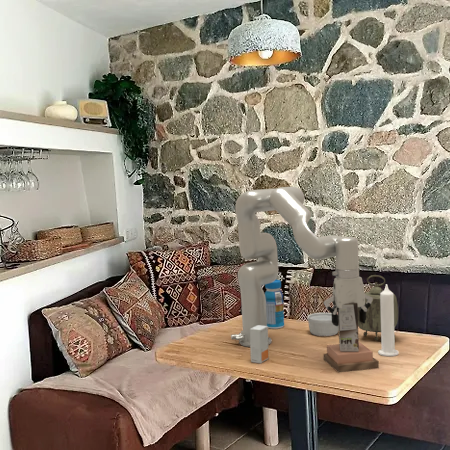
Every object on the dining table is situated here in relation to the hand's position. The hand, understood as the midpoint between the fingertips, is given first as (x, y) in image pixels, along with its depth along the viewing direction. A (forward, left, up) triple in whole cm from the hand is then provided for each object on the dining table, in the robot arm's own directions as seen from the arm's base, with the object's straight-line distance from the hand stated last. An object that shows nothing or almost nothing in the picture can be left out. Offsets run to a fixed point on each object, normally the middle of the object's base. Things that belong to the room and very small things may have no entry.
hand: (349, 323), depth 202 cm
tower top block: (0, 0, -12) cm, 12 cm away
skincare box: (-28, +14, -14) cm, 34 cm away
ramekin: (+6, +40, -14) cm, 43 cm away
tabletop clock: (+22, +24, -14) cm, 35 cm away
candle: (+17, +6, -14) cm, 23 cm away
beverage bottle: (-10, +57, -14) cm, 60 cm away
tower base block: (0, 0, -14) cm, 15 cm away
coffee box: (0, 0, -9) cm, 9 cm away
